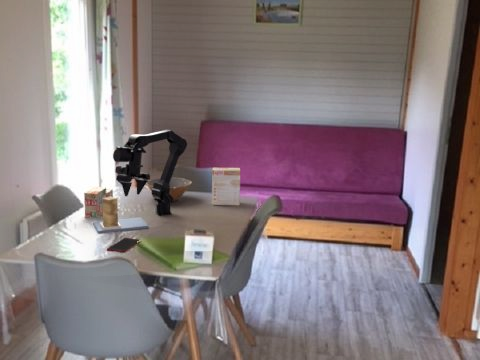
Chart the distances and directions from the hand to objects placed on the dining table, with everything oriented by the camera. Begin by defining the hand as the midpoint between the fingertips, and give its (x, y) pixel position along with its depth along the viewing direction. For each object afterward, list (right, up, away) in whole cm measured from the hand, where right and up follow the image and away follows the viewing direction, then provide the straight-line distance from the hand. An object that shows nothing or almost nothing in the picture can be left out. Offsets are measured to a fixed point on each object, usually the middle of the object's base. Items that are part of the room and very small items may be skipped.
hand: (132, 195), depth 225 cm
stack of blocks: (-20, -9, +16) cm, 27 cm away
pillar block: (-7, -14, -11) cm, 19 cm away
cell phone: (+4, -20, -30) cm, 36 cm away
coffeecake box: (+42, -6, +38) cm, 57 cm away
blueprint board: (-4, -14, -6) cm, 15 cm away
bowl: (+11, -4, +44) cm, 45 cm away
